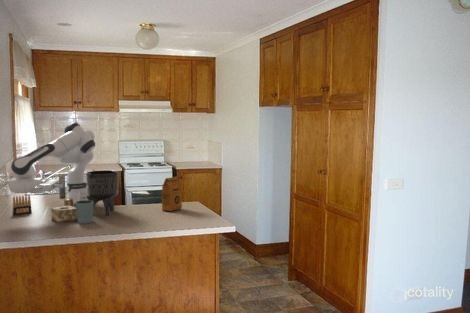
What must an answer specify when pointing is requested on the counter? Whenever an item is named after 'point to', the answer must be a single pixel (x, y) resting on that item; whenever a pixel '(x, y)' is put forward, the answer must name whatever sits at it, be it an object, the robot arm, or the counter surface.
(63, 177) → the steel bit
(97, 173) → the planter
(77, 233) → the counter surface
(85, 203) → the blue-grey cup
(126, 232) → the counter surface
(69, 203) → the thick bronze bit
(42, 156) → the robot arm
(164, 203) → the coffee package
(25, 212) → the ammunition clip
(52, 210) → the socket block
